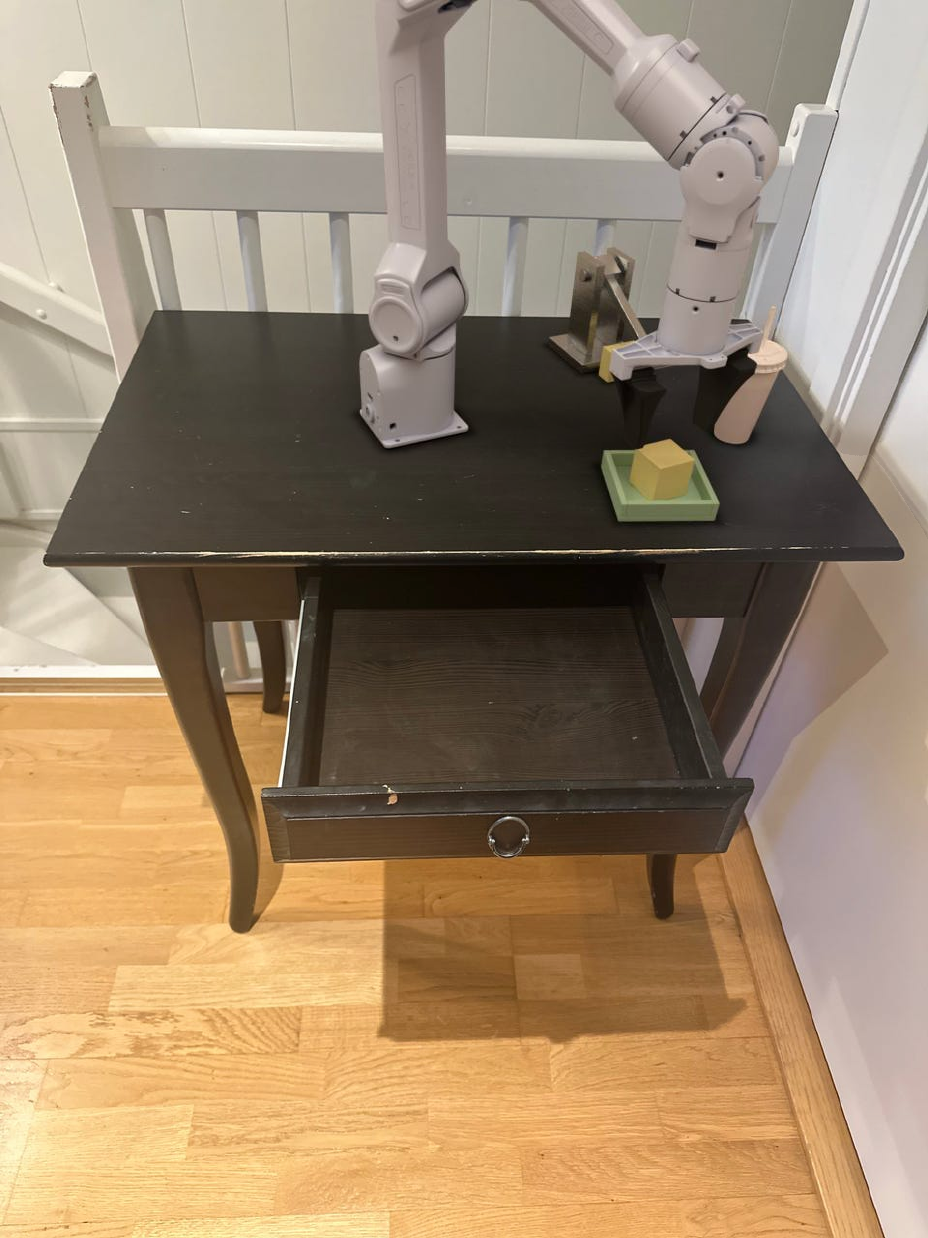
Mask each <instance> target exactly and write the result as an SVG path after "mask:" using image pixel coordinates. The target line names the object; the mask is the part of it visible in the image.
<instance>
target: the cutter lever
mask: <svg viewBox="0 0 928 1238" xmlns="http://www.w3.org/2000/svg"><path fill="white" fill-rule="evenodd" d="M593 257H594V258H596V259H597V260H599V261H600V262H602V263H603V264H605V271H604V278H603V285H602V290H603V289H606V290H607V292H608V294H609V296H610V298H611V299H612V301H613V303H614V305H615V307H616V308H617V310H618V312H619V314H620V316H621V318H622V319H623V321H624V323H625V324H624V326H625V327H626V329H627V330H628V332H629V334H630V336H631V337H632V339H633V341H637V340H639V339H641V338H643V337H645V336H647V335H648V334H647V333H646V331H645V330H644V328H643V326H642V325H641V322H640V320H639V318H638V317H637V315H636V314H635V312H634V310H633V308H632V306H631V304H630V302H629V301H627V299H626V297H625V295H624V294H623V292H622V290H621V288H620V286H619V285H618V283H617V279H618V277H619V275H620V274H621V271H620V269H619V268H618V266H617V264H616V262H615V261H614V259H613V257H612V255H611V254H607V253H606V254H600V255H595V256H593Z"/></svg>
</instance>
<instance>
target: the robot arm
mask: <svg viewBox="0 0 928 1238" xmlns="http://www.w3.org/2000/svg"><path fill="white" fill-rule="evenodd" d="M477 1H478V0H376V1H375V5H374V6H375V9H374V13H375V14H374V22H375V38H376V39H375V40H376V54H377V68H378V69H377V70H378V72H377V73H378V85H379V86H378V87H379V102H380V118H381V119H380V120H381V134H382V135H381V137H382V149H383V150H382V151H383V166H384V169H383V170H384V183H385V198H386V202H385V203H386V214H387V215H386V218H387V232H388V233H387V234H388V244H387V247H386V249H385V251H384V253H383V255H382V257H381V260H380V262H379V264H378V265H377V268H376V270H375V272H374V275H373V282H374V292H373V297H372V299H371V301H370V304H369V307H368V324H369V327H370V330H371V332H372V335H373V336H374V338H375V339H376V341H377V342H378V344H377V345H375V346H374V347H371V348H369V349H365V350H363V351H362V352H361V353H360V355H359V356H360V357H359V366H358V367H359V383H360V400H361V401H360V402H361V408H360V410H359V415H360V416H361V418H362V419H363V420H364V422H365V423H366V424H367V426H368V427H369V429H370V430H371V432H373V434H374V435H375V437H376V438H377V439H378V441H379V442H380V444H381V445H382V446H383V447H384V448H385V449H393V448H397V447H402V446H407V445H411V444H416V443H420V442H425V441H429V440H434V439H438V438H439V439H440V438H443V437H449V436H453V435H457V434H461V433H466V432H468V431H469V425H468V424H467V423H466V422H465V421H464V419H462V418H461V416H459V414H458V412H456V411H455V383H456V381H455V380H456V349H457V347H456V343H457V337H456V336H457V335H456V334H457V322H458V321H459V320H461V319H462V318H463V317H464V315H465V314H466V312H467V310H468V306H469V301H470V295H469V289H468V284H467V282H466V281H465V278H464V276H463V273H462V270H461V254H460V252H459V250H458V249H457V248H456V246H455V245H454V244H453V243H452V242H451V241H450V240H449V237H448V235H449V234H448V183H447V181H448V179H447V178H448V177H447V175H448V174H447V124H446V123H447V122H446V121H447V119H446V117H447V116H446V114H447V113H446V64H445V63H446V62H445V61H446V59H445V56H446V55H445V54H446V53H445V39H446V35H447V34H448V33H449V31H450V30H451V29H452V28H453V27H454V26H455V25H456V24H457V22H459V20H460V19H461V18H462V17H463V16H464V15H465V14H466V13H467V11H468V10H470V8H471V7H472V6H473V5H474V4H475V3H476V2H477ZM519 1H520V2H528V3H529V4H531V5H532V6H534V7H535V8H536V9H537V10H538V11H539V12H540V13H541V14H542V15H544V17H546V18H547V20H549V21H550V22H551V23H552V24H553V25H554V26H555V27H556V28H557V29H558V30H559V31H561V33H563V34H564V35H565V36H566V37H567V38H568V39H569V40H570V41H571V42H573V44H574V45H575V46H577V47H578V48H579V49H580V50H581V51H582V52H583V53H584V54H585V55H586V56H587V57H588V58H590V59H591V60H592V61H593V62H594V63H595V64H596V65H597V66H598V67H600V69H602V70H603V71H604V72H605V74H607V75H608V76H609V77H610V81H611V87H612V102H613V107H614V109H615V110H616V111H617V112H618V113H619V114H620V115H621V116H622V117H623V119H625V121H627V122H628V124H629V125H631V126H632V128H633V129H634V130H635V131H636V132H637V133H638V134H639V135H640V136H641V137H642V138H643V139H644V140H645V141H646V142H647V143H648V144H649V145H650V146H651V147H652V149H654V150H655V152H656V153H657V154H659V156H660V157H662V159H663V160H664V161H665V162H666V163H667V164H668V165H669V166H670V167H671V168H672V169H673V170H677V171H679V185H680V191H681V194H682V196H683V199H684V200H685V203H684V208H683V213H682V217H681V222H680V224H679V226H678V229H677V234H676V238H675V239H676V240H675V245H674V248H673V254H672V259H671V264H670V269H669V274H668V277H667V283H666V288H665V292H664V297H663V302H662V307H661V312H660V317H659V320H658V321H659V322H658V328H657V330H655V331H653V332H651V333H649V334H646V335H647V336H645V337H643V338H641V339H639V340H637V341H635V342H632V343H630V344H628V345H626V346H623V347H619V348H615V349H612V354H611V360H610V366H609V371H610V372H611V374H612V377H613V379H614V381H613V382H614V384H615V387H616V389H617V393H618V396H619V400H620V405H621V412H622V418H623V432H624V440H625V442H627V443H628V444H629V445H630V446H631V447H633V448H634V450H636V449H641V448H643V447H644V445H646V443H647V440H648V436H649V433H650V429H651V424H652V420H653V418H654V415H655V412H656V410H657V408H658V406H659V404H660V402H661V400H662V398H663V397H664V396H665V394H666V393H667V391H668V390H667V388H666V387H664V385H662V384H661V383H659V382H658V381H657V375H656V374H655V370H658V369H665V368H667V367H674V366H699V371H698V372H699V375H698V386H697V392H696V395H695V400H694V406H693V411H692V424H693V425H695V426H696V427H697V428H698V429H699V430H701V431H702V432H703V433H704V434H707V433H711V432H712V430H714V428H715V424H716V422H717V420H718V419H719V417H720V415H721V414H722V412H723V410H724V409H725V407H726V406H727V404H728V403H729V401H730V400H731V398H732V397H733V396H734V394H735V393H736V392H737V391H738V390H739V388H740V387H741V386H742V385H743V384H744V383H745V382H746V381H747V380H748V379H749V378H750V377H752V376H753V375H754V374H755V370H756V367H757V363H756V362H755V361H754V360H753V359H751V358H750V357H748V353H749V354H753V353H758V352H759V349H760V346H761V342H762V339H763V336H764V330H763V329H761V328H759V327H758V326H756V325H755V324H753V323H751V322H747V323H739V324H731V323H732V319H733V316H734V311H735V309H736V308H735V307H736V303H737V300H738V296H739V293H740V289H741V285H742V281H743V277H744V274H745V271H746V267H747V263H748V259H749V255H750V253H751V252H750V251H751V247H752V245H753V244H752V243H753V240H754V234H755V233H754V232H755V231H754V227H755V224H756V222H757V220H758V217H759V208H760V204H761V200H762V197H761V196H760V193H761V191H762V190H763V189H764V187H765V186H767V184H768V183H769V182H770V180H771V179H772V176H773V175H774V174H775V171H776V168H777V166H778V163H779V158H780V142H779V138H778V135H777V133H776V131H775V129H774V128H773V126H772V125H771V124H770V121H769V118H768V116H767V115H766V114H764V113H763V112H760V111H757V110H753V109H744V107H745V106H746V101H745V100H744V98H743V97H742V96H741V95H740V94H739V93H735V94H734V95H732V96H730V94H729V93H727V91H726V90H724V88H723V87H722V85H720V84H719V83H718V81H716V80H715V78H714V77H713V76H711V74H710V73H709V72H708V71H707V70H706V69H705V68H704V67H703V66H702V65H701V64H700V63H699V62H698V61H697V60H696V58H697V57H698V56H699V55H700V53H701V49H700V48H699V46H697V44H696V43H695V42H694V41H693V40H692V39H691V38H689V37H688V38H686V39H684V40H682V41H680V42H679V40H677V39H676V38H675V37H674V35H673V34H671V33H664V34H663V33H662V34H658V35H653V36H648V35H645V34H644V33H643V32H642V31H641V29H640V28H639V27H638V26H637V24H635V22H634V21H633V20H632V19H631V17H630V16H629V15H628V14H627V13H626V11H624V9H623V8H622V7H621V6H620V4H619V3H618V2H617V1H616V0H519Z"/></svg>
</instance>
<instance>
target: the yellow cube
mask: <svg viewBox="0 0 928 1238" xmlns="http://www.w3.org/2000/svg"><path fill="white" fill-rule="evenodd" d="M634 450H635V455H634V460H633V465H632V470H631V475H630V480H629V483H630V484H631V485H632V486H633V487H635V488H636V489H637V490H638V491H639V492H640V493H641V494H642V495H643V496H644V497H645V498H646V499H647V500H669V499H673V498H676V497H680V496H684V495H686V493H687V489H688V485H689V481H690V478H691V474H692V470H693V466H694V462H695V459H694V458H692V457H691V456H690V455H689V454H688V453H686V452H685V451H684V450H685V449H683V448H681V446H679V444H677V443H676V442H674V440H672V439H671V438H668V439H664V440H660V441H656V442H652V443H648V444H645V445H644V447H643V448H641V449H634Z"/></svg>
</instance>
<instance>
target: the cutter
mask: <svg viewBox="0 0 928 1238" xmlns="http://www.w3.org/2000/svg"><path fill="white" fill-rule="evenodd" d="M607 254H611V255H612V257H613V259H614V261H615V262H616V264H617V266H618V268H619V269H620V271H621V274H620V275H619V277H618V279H617V283H618V285H619V286H620V288H621V290H622V292H623V294H624V295H625V297H626V299H627V301H628V302H629V299H630V294H631V287H632V284H633V283H632V282H633V278H634V277H633V276H634V271H635V265H636V260H635V259H634V258H632V257H630V256H629V255H628V254H626V253H625V252H622V251H621V250H619V248H616V247H615V246H613V247H608V248H607V249H606V255H607ZM576 256H577V257H576V262H575V263H576V264H575V273H574V281H573V289H572V296H571V303H570V304H571V305H570V313H569V320H568V321H569V322H568V328H567V333H564V334H559V335H553V336H549V337H548V343H547V344H548V345H547V346H548V347H549V348H550V349H551V350H552V351H554V353H556V354H557V355H558V356H559V357H561V358H562V359H563V360H564V361H565V362H566V363H567V364H569V365H570V366H571V367H573V368H574V370H576V371H577V372H578V373H579V374H582V375H583V374H588V373H592V372H597V371H598V372H599V370H600V364H601V357H602V351H603V347H604V346H609V345H614V344H619V343H625V342H624V341H623V336H624V329H625V323H624V321H623V319H622V318H621V316H620V314H619V312H618V310H617V308H616V307H615V305H614V303H613V301H612V299H611V298H610V296H609V294H608V292H607V290H606V289H603V290H602V285H603V278H604V271H605V264H603V263H602V262H600V261H599V260H597V259H596V258H594V257H595V256H593V255H591V254H590V253H588V252H586V251H578V252H577V255H576Z"/></svg>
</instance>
